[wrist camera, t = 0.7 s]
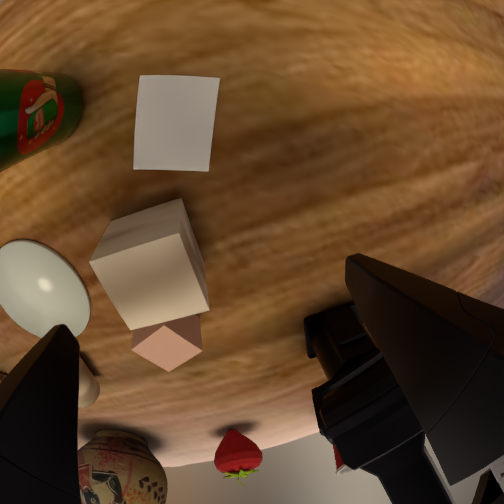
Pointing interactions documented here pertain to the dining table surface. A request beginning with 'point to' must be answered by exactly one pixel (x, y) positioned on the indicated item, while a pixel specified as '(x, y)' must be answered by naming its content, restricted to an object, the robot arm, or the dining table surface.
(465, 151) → the dining table surface
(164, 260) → the maple block
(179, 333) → the terracotta block
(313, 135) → the dining table surface
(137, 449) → the ceramic jug
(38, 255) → the coaster
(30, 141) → the soda can
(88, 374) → the beech cylinder
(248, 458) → the strawberry
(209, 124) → the cream block
